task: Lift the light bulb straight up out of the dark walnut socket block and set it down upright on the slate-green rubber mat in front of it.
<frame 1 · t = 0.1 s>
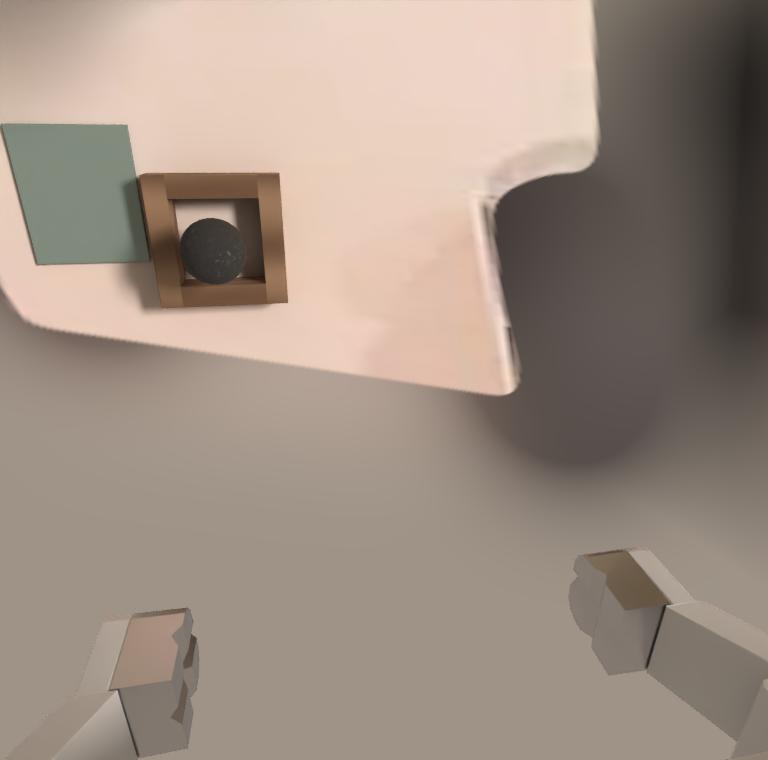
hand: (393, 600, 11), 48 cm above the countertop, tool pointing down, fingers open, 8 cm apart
rubber mat: (81, 196, 49), on the countertop
light bulb: (222, 237, 53), resting in socket block
socket block: (221, 238, 53), on the countertop
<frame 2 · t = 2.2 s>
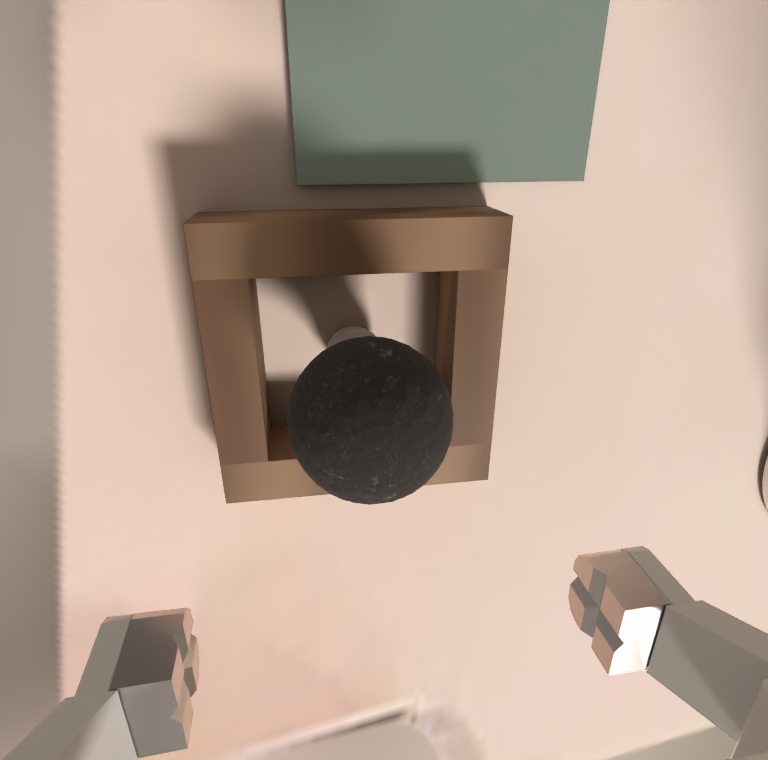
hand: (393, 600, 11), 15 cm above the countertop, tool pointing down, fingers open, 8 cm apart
rubber mat: (448, 40, 20), on the countertop
light bulb: (351, 343, 25), resting in socket block
socket block: (351, 344, 25), on the countertop
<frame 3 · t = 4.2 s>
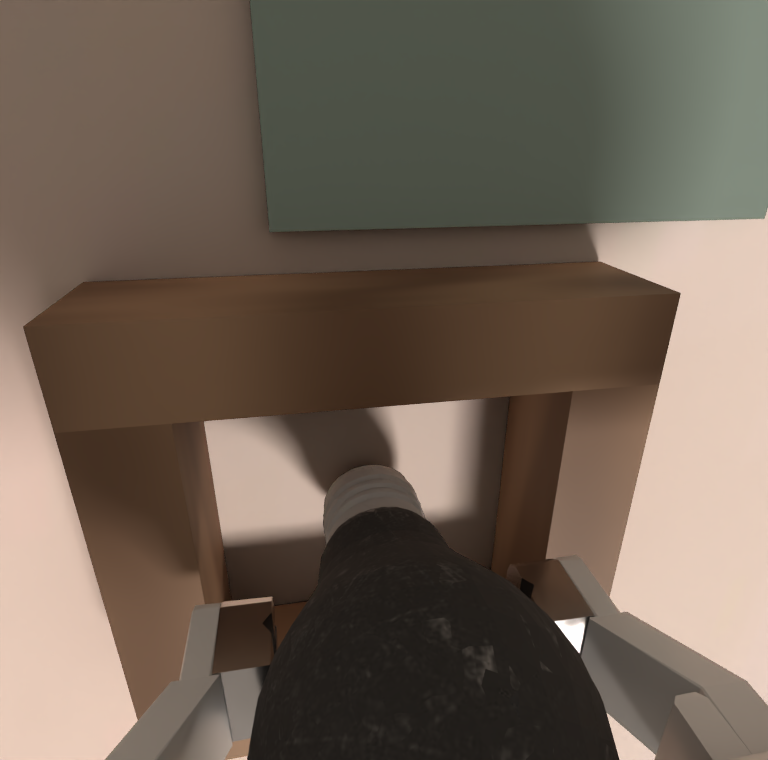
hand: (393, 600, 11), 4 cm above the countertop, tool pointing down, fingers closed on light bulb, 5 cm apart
light bulb: (363, 481, 15), resting in socket block, touching gripper
socket block: (365, 485, 15), on the countertop
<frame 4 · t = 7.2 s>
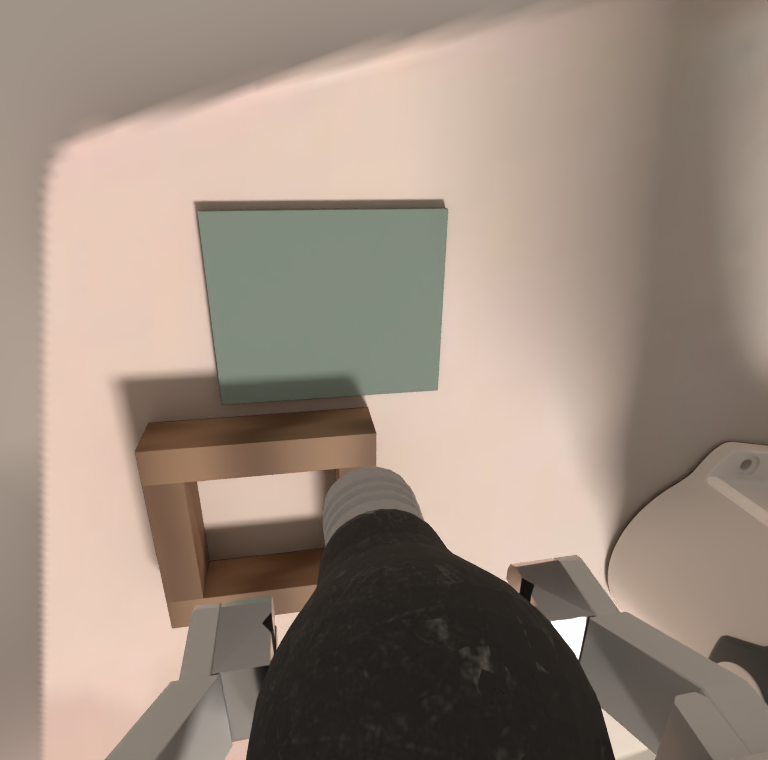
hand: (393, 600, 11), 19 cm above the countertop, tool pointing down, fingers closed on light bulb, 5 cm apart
rubber mat: (329, 308, 28), on the countertop
light bulb: (362, 483, 15), point 15 cm above the countertop, touching gripper
socket block: (269, 502, 32), on the countertop
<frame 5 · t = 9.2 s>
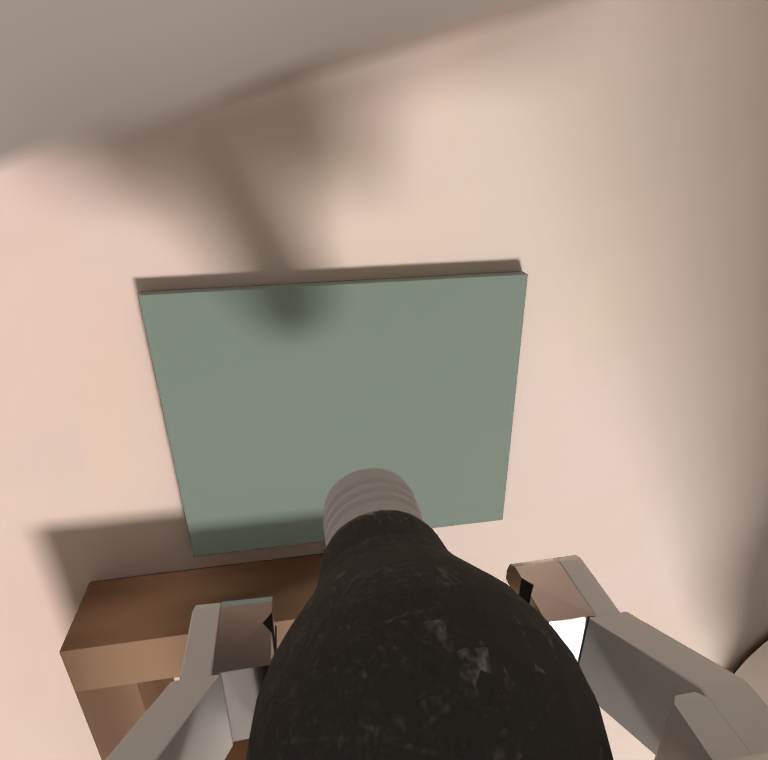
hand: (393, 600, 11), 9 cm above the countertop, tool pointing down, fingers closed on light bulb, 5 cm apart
rubber mat: (348, 419, 19), on the countertop
light bulb: (363, 484, 15), point 4 cm above the countertop, touching gripper
socket block: (268, 666, 24), on the countertop
when the fingers open (6 cm above the countertop, at t = 10.7 s): light bulb drops 1 cm, resting on rubber mat.
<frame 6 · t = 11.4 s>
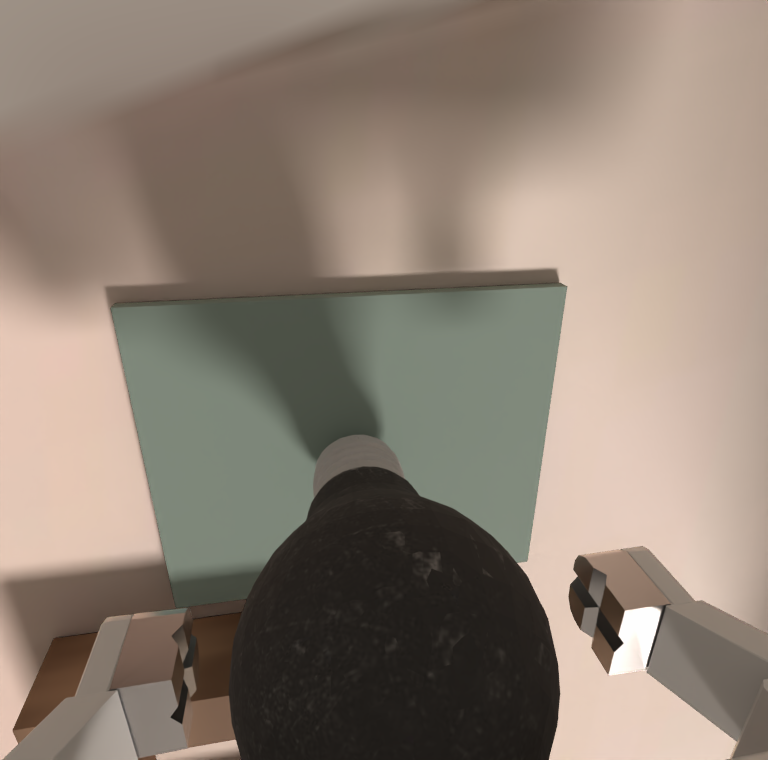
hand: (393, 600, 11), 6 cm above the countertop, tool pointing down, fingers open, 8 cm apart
rubber mat: (356, 451, 16), on the countertop
light bulb: (353, 454, 16), resting on rubber mat
socket block: (260, 725, 21), on the countertop
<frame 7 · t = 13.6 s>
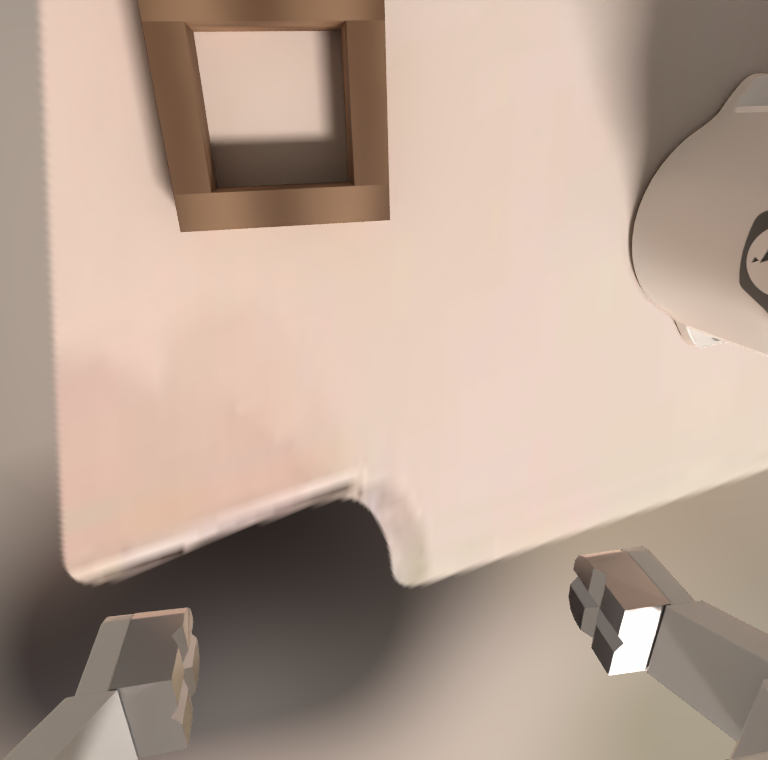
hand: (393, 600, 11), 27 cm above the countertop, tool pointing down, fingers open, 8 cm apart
socket block: (276, 112, 31), on the countertop
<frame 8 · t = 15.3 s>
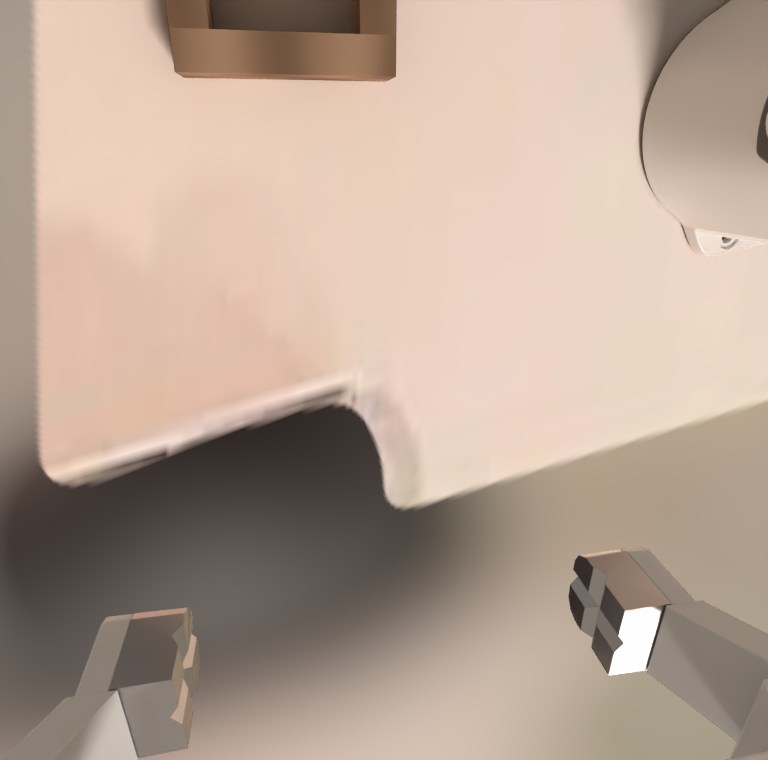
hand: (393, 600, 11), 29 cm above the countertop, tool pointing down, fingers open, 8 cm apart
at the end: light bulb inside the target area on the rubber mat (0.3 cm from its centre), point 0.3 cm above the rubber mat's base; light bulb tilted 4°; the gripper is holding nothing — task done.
